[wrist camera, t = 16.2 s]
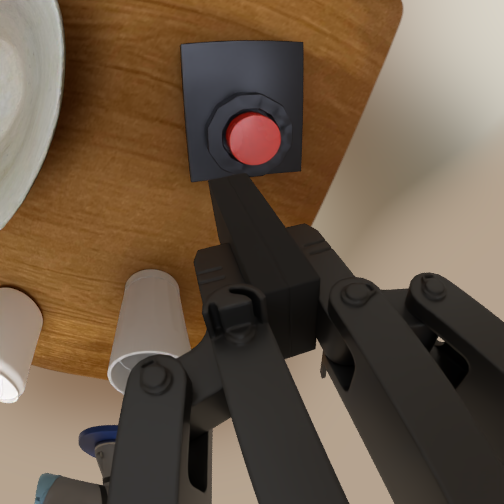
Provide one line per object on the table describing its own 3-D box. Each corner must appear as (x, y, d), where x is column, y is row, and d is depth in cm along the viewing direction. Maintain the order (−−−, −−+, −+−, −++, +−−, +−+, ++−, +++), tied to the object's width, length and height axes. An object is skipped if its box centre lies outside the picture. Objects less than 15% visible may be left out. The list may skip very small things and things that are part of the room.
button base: (293, 164, 30) (308, 178, 27) (189, 174, 28) (192, 190, 25) (294, 43, 24) (312, 41, 20) (180, 46, 22) (180, 42, 18)
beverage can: (-12, 313, 30) (-40, 383, 21) (-3, 273, 28) (-41, 348, 18) (36, 339, 35) (18, 413, 25) (51, 303, 32) (27, 384, 22)
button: (274, 157, 26) (281, 163, 24) (226, 161, 25) (230, 167, 24) (274, 110, 23) (281, 114, 22) (224, 113, 23) (228, 116, 21)
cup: (167, 252, 32) (171, 339, 23) (197, 303, 37) (211, 388, 27) (104, 278, 32) (89, 365, 22) (139, 324, 37) (139, 408, 27)
